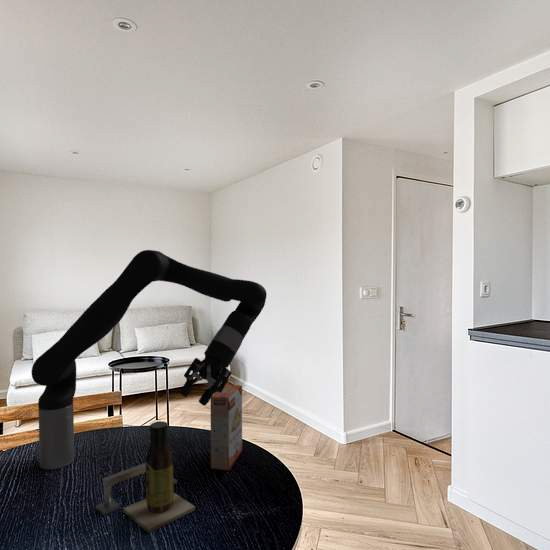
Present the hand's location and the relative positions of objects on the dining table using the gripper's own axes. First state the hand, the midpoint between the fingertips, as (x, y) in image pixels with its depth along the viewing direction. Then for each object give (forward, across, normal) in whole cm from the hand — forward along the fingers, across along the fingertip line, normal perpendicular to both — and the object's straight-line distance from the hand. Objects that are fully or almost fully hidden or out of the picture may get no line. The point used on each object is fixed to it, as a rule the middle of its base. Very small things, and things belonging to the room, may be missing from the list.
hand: (191, 399), depth 107 cm
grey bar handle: (+25, -7, +7) cm, 27 cm away
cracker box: (+8, -6, +28) cm, 30 cm away
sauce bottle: (+24, +3, +6) cm, 25 cm away
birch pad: (+25, +3, +6) cm, 26 cm away
